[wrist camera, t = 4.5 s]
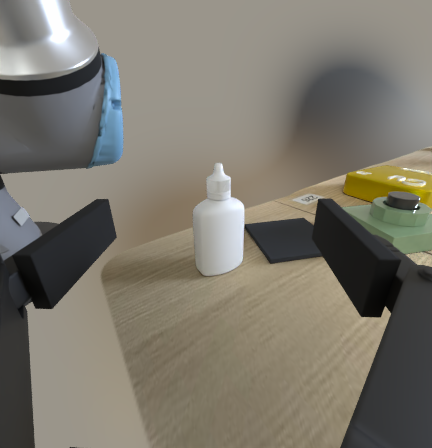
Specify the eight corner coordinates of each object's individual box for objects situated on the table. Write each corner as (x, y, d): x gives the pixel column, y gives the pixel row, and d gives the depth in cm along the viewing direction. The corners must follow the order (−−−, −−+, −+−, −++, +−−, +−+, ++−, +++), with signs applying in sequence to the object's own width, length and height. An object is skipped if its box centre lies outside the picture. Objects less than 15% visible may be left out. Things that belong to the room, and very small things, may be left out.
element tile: (460, 201, 46) (471, 176, 44) (416, 217, 40) (427, 189, 38) (381, 182, 58) (386, 162, 56) (338, 192, 52) (343, 170, 50)
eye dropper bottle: (196, 256, 31) (190, 160, 25) (240, 254, 31) (243, 158, 26) (195, 278, 27) (187, 169, 21) (245, 276, 27) (250, 167, 22)
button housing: (387, 257, 30) (399, 223, 28) (335, 223, 38) (341, 196, 37) (459, 246, 32) (474, 214, 30) (393, 216, 40) (402, 190, 39)
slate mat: (270, 263, 29) (270, 259, 29) (244, 227, 38) (244, 224, 37) (344, 253, 31) (345, 249, 30) (303, 221, 39) (303, 217, 39)
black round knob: (400, 213, 31) (404, 200, 31) (378, 204, 35) (381, 192, 34) (423, 211, 32) (428, 198, 31) (399, 201, 35) (403, 190, 34)
